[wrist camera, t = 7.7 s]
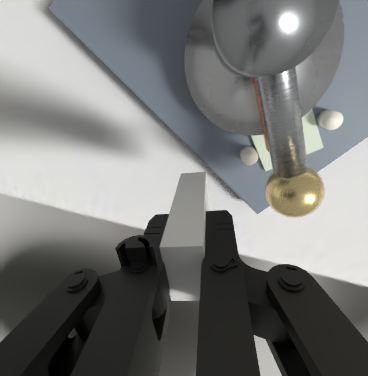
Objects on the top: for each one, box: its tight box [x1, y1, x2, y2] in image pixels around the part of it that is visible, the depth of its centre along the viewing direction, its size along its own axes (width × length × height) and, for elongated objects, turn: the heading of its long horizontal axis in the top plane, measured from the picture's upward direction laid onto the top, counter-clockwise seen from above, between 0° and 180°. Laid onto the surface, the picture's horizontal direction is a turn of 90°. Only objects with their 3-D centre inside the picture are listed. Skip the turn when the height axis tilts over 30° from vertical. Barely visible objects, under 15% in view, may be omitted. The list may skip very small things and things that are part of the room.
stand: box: [49, 0, 368, 214], centre depth 14 cm, size 22×17×3 cm
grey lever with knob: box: [184, 0, 344, 217], centre depth 11 cm, size 21×9×6 cm, turn 19°
